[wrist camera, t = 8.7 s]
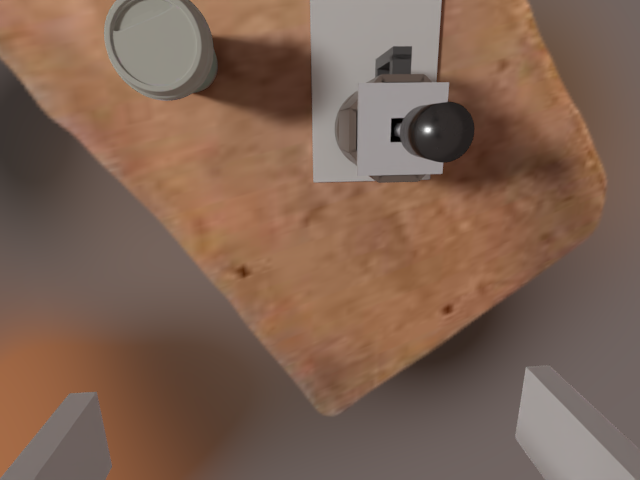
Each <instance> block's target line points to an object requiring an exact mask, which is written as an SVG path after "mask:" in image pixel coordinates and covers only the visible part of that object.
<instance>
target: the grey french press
mask: <svg viewBox="0 0 640 480" xmlns="http://www.w3.org/2000/svg"><path fill="white" fill-rule="evenodd" d="M411 60H412V46H393V47H392V48H390V49H389V50H388V51H386V52H385V53H384V54H382V55H381V56H380V57H378V58H377V59H376V63H375V78H374V79H372V80H370V81H368V82H366V83H358V91H356V92H354V93H353V94H352V95H350V96H349V97H348V98H347V99H346V100H345V101H344V103H343V104H342V106H341V107H340V109H339V111H338V113H337V117H336V121H335V137H336V141H337V144H338V146H339V149H340V150H341V152H342V153H343V154H344V156H345V157H346V158H347V159H348V160H350V161H351V162H353V163H354V164H355V165H356V166H357V176H369V177H371V178H372V179H374V180H375V181H377V182H379V183H380V182H418V181H420V180H421V179H422V178H423V177H424V176H425V175H426V174H442V172H443V162H436V161H432V160H428V159H424V158H421V157H417V156H414V155H412V154H410V153H409V152H408V151H407V150H406V149H405V148H404V147H403V145H402V143H401V139H400V137H394V136H391V123H402V121H403V119H404V117H405V116H406V115H407V114H408V113H409V112H410V111H411V110H412V109H414V108H416V107H418V106H422V105H428V104H436V103H443V102H449V101H448V92H449V82H431V80H430V79H429V78H428V77H427V76H426V75H424V74H411Z"/></svg>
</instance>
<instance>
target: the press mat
mask: <svg viewBox="0 0 640 480" xmlns="http://www.w3.org/2000/svg"><path fill="white" fill-rule="evenodd" d="M441 3H442V0H310V26H311V80H312V133H313V182H347V181H375V180H374V179H372V178H371V177H369V176H357V166H356V165H355V164H354V163H353V162H351V161H350V160H348V159H347V158H346V157H345V156H344V154H343V153H342V152H341V150H340V149H339V146H338V144H337V141H336V137H335V121H336V117H337V113H338V111H339V109H340V107H341V106H342V104H343V103H344V101H345V100H346V99H347V98H348V97H349V96H350V95H352V94H353V93H354V92H356V91H358V83H366V82H368V81H370V80H372V79H374V78H375V63H376V59H377V58H378V57H380V56H381V55H382V54H384V53H385V52H386V51H388V50H389V49H390V48H392V47H393V46H412V60H411V74H424V75H426V76H427V77H428V78H429V79H430V80H431V82H436V80H437V64H438V49H439V34H440V19H441ZM429 179H430V174H426V175H425V176H424V177H423V178H422V179H421V180H429Z"/></svg>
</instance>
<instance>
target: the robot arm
mask: <svg viewBox="0 0 640 480" xmlns="http://www.w3.org/2000/svg"><path fill="white" fill-rule="evenodd" d="M515 438H516V440H517V441H518V443H519V444H520V445H521V447H522V448H523V450H524V451H525V452H526V454H527V455H528V456H529V458H530V459H531V461H532V462H533V463H534V465H535V466H536V468H537V469H538V470H539V472H540V473H541V475H542V476H543V477H544V479H545V480H640V450H639V448H638V447H636V446H635V445H634V444H633V443H632V442H631V441H630V440H629V439H628V438H626V436H625V435H624V434H622V433H621V432H620V431H619V430H618V429H617V428H616V427H615V426H614V425H613V424H612V423H611V422H609V421H608V420H607V419H606V418H605V417H604V416H603V415H602V414H601V413H600V412H599V411H598V410H597V409H595V407H593V406H592V405H591V404H590V403H589V402H588V401H587V400H586V399H585V398H584V397H582V395H581V394H579V393H578V392H577V391H576V390H575V389H574V388H573V387H572V386H571V385H570V384H569V383H568V382H567V381H565V380H564V379H563V378H562V377H561V376H560V375H559V374H558V373H557V372H556V371H555V370H554V369H553V368H551V367H550V366H549V365H547V366H532V367H526V371H525V378H524V384H523V390H522V397H521V404H520V409H519V416H518V423H517V429H516V435H515ZM111 468H112V464H111V459H110V454H109V450H108V445H107V440H106V435H105V430H104V425H103V421H102V415H101V411H100V406H99V401H98V396H97V392H87V393H71V394H69V395H68V396H67V398H65V400H64V401H63V402H62V403H61V405H60V406H59V407H58V409H57V410H56V411H55V412H54V413H53V414H52V416H51V417H50V418H49V419H48V421H47V422H46V423H45V425H43V427H42V428H41V429H40V431H39V432H38V433H37V434H36V436H35V437H34V438H33V439H32V440H31V441H30V443H29V444H28V445H27V446H26V448H25V449H24V450H23V451H22V452H21V454H20V455H19V456H18V457H17V459H16V460H15V461H14V463H13V464H12V465H11V466H10V467H9V468H8V470H7V471H6V472H5V474H4V475H3V476H2V477H1V478H0V480H105V479H106V477H107V475H108V473H109V471H110V469H111Z"/></svg>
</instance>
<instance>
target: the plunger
mask: <svg viewBox="0 0 640 480" xmlns="http://www.w3.org/2000/svg"><path fill="white" fill-rule="evenodd" d="M391 136H394V137H400V139H401V143H402V145H403V147H404V148H405V149H406V150H407V151H408V152H409V153H410V154H412V155H414V156H417V157H421V158H424V159H428V160H432V161H436V162H450V161H453V160H455V159H457V158H459V157H460V156H462V155H463V154H464V153H465V152H466V151H467V149H468V148H469V146H470V145H471V142H472V140H473V136H474V123H473V119H472V117H471V115H470V113H469V112H468V111H467V110H466V109H465V108H464V107H463V106H461V105H459V104H457V103H453V102H443V103H436V104H428V105H422V106H418V107H416V108H414V109H412V110H411V111H410V112H409V113H408V114H407V115H406V116H405V117H404V119H403V121H402V123H391Z"/></svg>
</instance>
